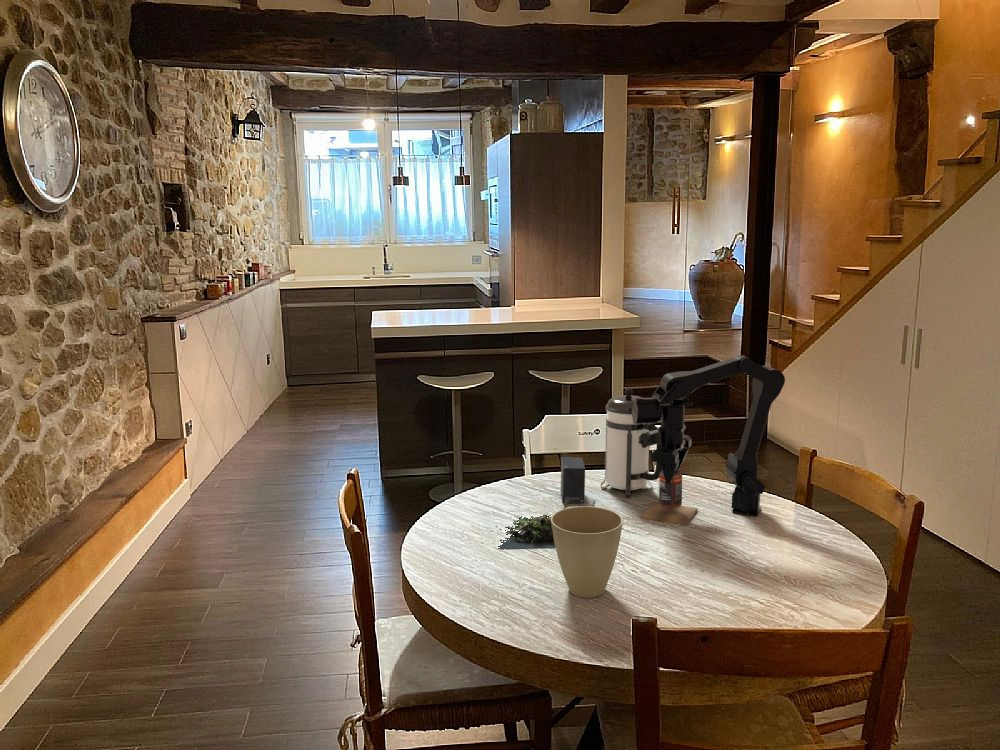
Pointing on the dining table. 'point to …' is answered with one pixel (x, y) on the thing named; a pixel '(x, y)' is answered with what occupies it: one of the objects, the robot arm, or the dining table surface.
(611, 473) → the coffee press
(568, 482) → the small box
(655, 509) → the walnut trivet
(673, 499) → the supplement bottle
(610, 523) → the plant pot
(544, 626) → the dining table surface
